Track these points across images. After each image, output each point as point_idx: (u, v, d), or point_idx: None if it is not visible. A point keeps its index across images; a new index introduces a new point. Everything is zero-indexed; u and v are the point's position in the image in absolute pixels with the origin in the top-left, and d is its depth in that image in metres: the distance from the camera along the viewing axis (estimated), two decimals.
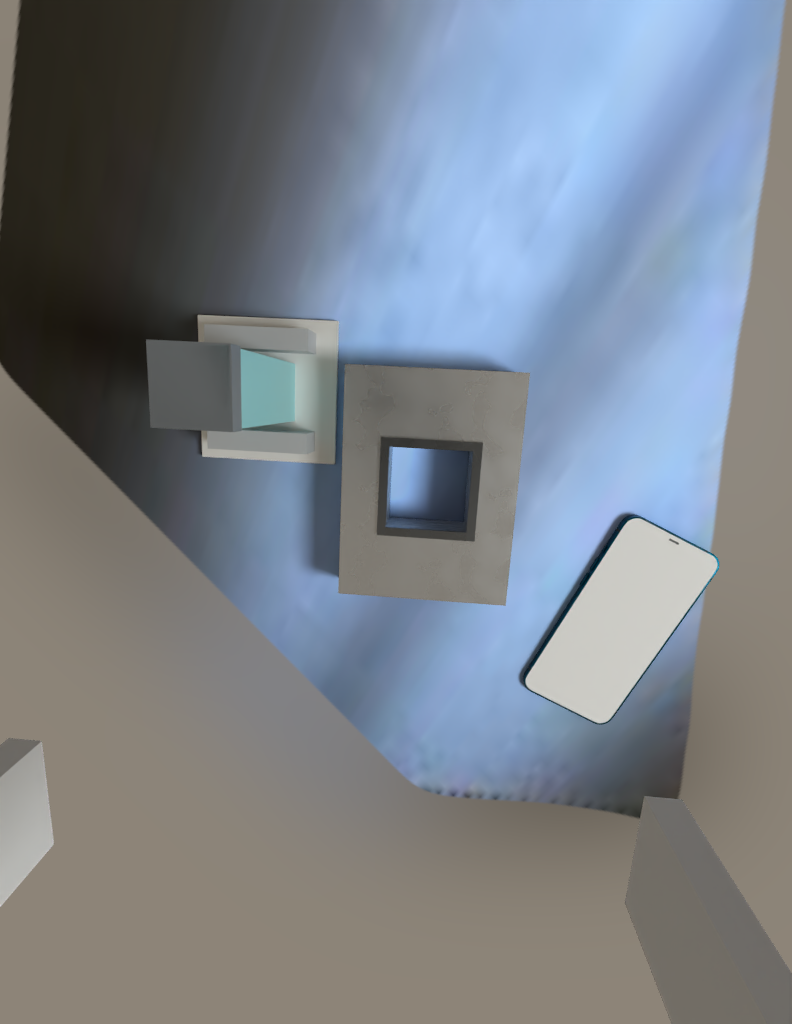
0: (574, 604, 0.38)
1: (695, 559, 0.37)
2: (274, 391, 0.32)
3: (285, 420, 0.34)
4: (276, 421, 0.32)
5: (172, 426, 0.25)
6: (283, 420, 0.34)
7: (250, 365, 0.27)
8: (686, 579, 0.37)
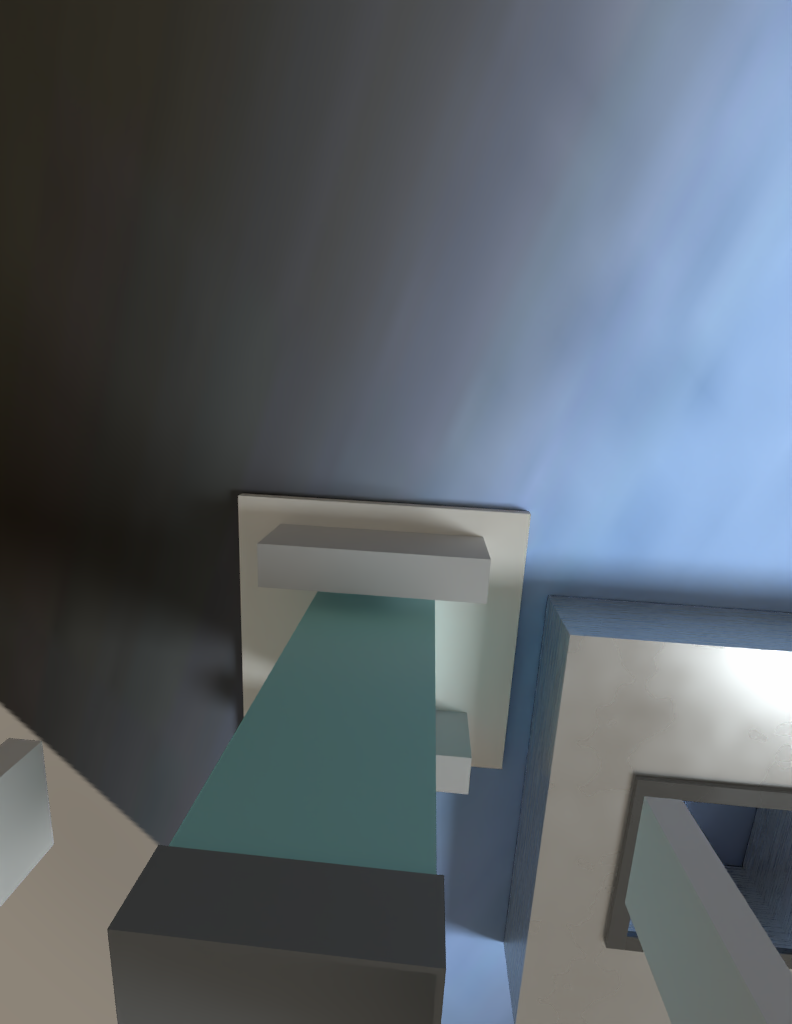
0: None
1: None
2: None
3: None
4: None
5: None
6: None
7: None
8: None
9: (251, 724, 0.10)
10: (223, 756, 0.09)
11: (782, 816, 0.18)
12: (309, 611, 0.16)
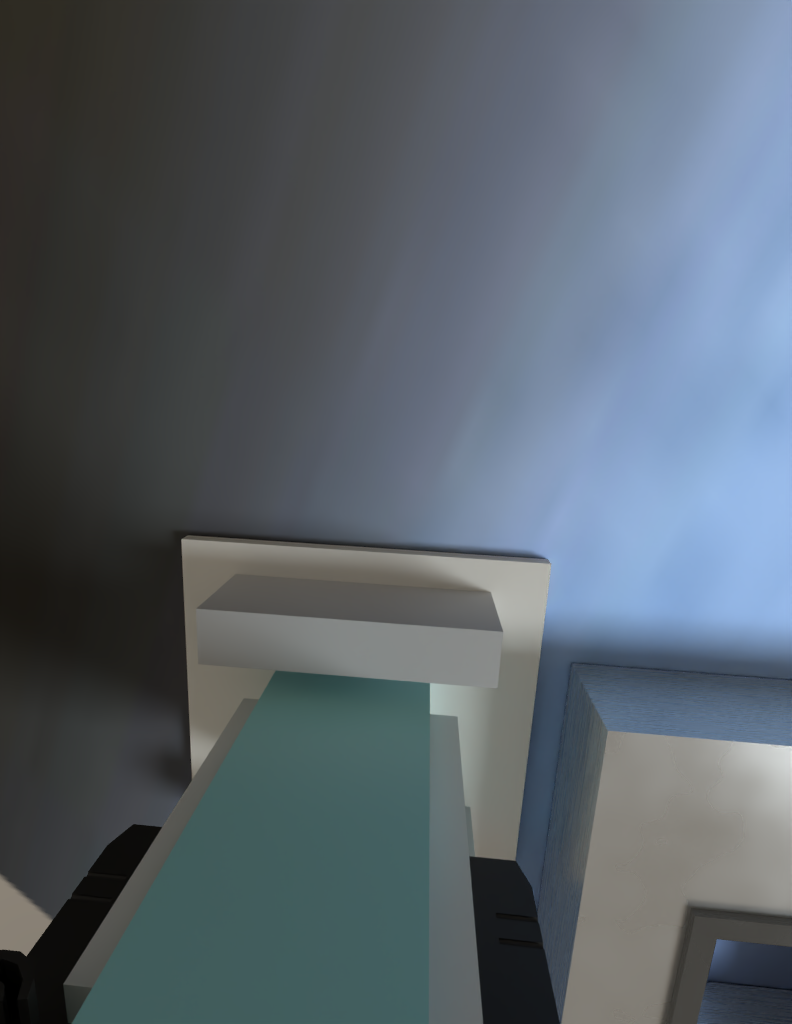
0: None
1: None
2: None
3: None
4: None
5: None
6: None
7: None
8: None
9: (142, 932, 0.07)
10: (80, 1013, 0.06)
11: None
12: (265, 695, 0.12)
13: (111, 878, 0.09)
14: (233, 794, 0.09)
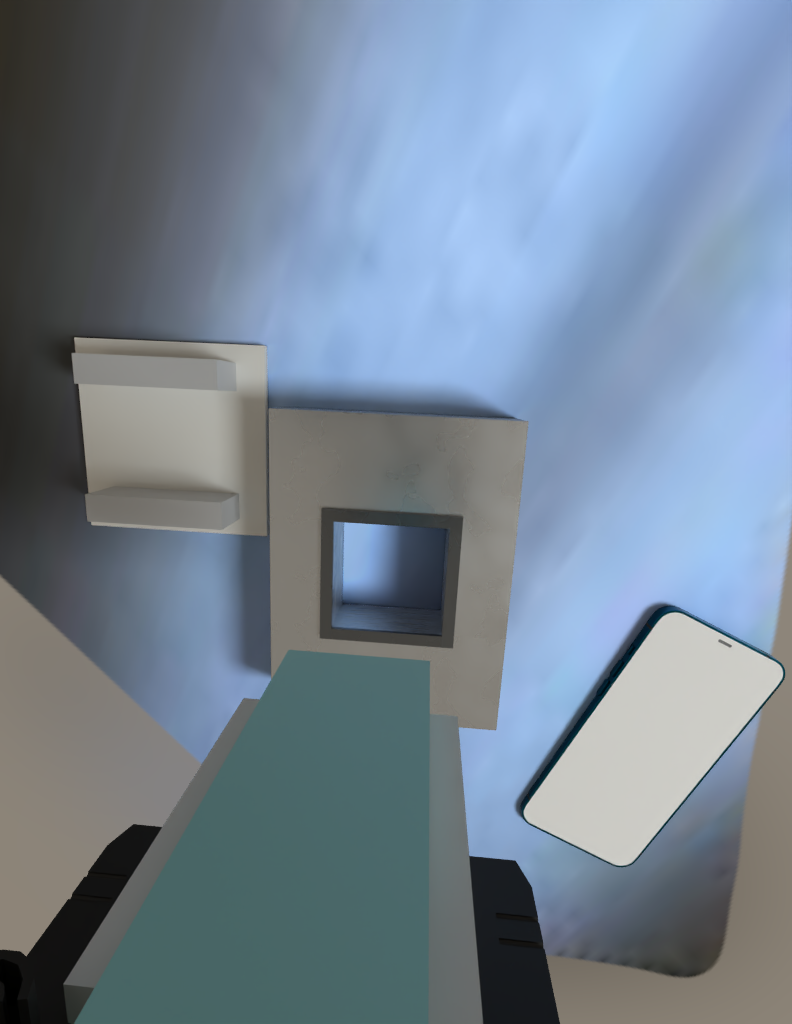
0: (588, 719, 0.29)
1: (752, 667, 0.27)
2: None
3: None
4: None
5: None
6: None
7: None
8: (740, 692, 0.28)
9: (141, 937, 0.07)
10: (80, 1019, 0.06)
11: (445, 556, 0.26)
12: (265, 698, 0.12)
13: (111, 878, 0.09)
14: (233, 798, 0.09)
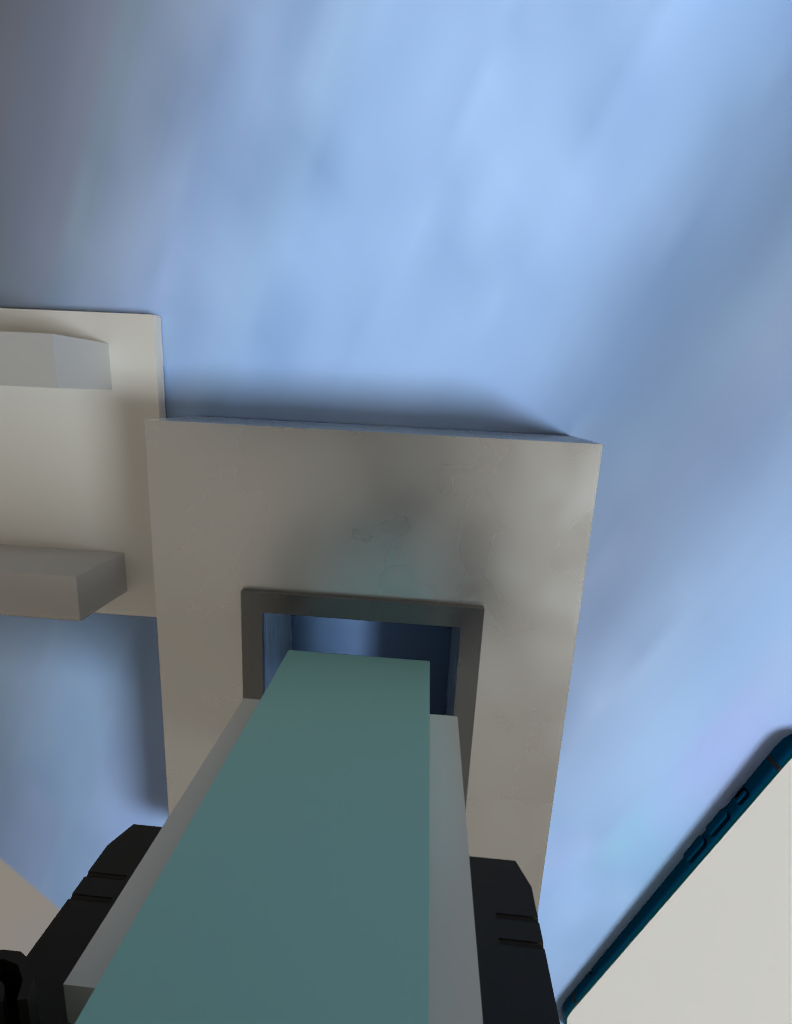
0: (672, 897, 0.19)
1: None
2: None
3: None
4: None
5: None
6: None
7: None
8: None
9: (142, 937, 0.07)
10: (80, 1018, 0.06)
11: (452, 657, 0.16)
12: (265, 698, 0.12)
13: (111, 878, 0.09)
14: (233, 798, 0.09)
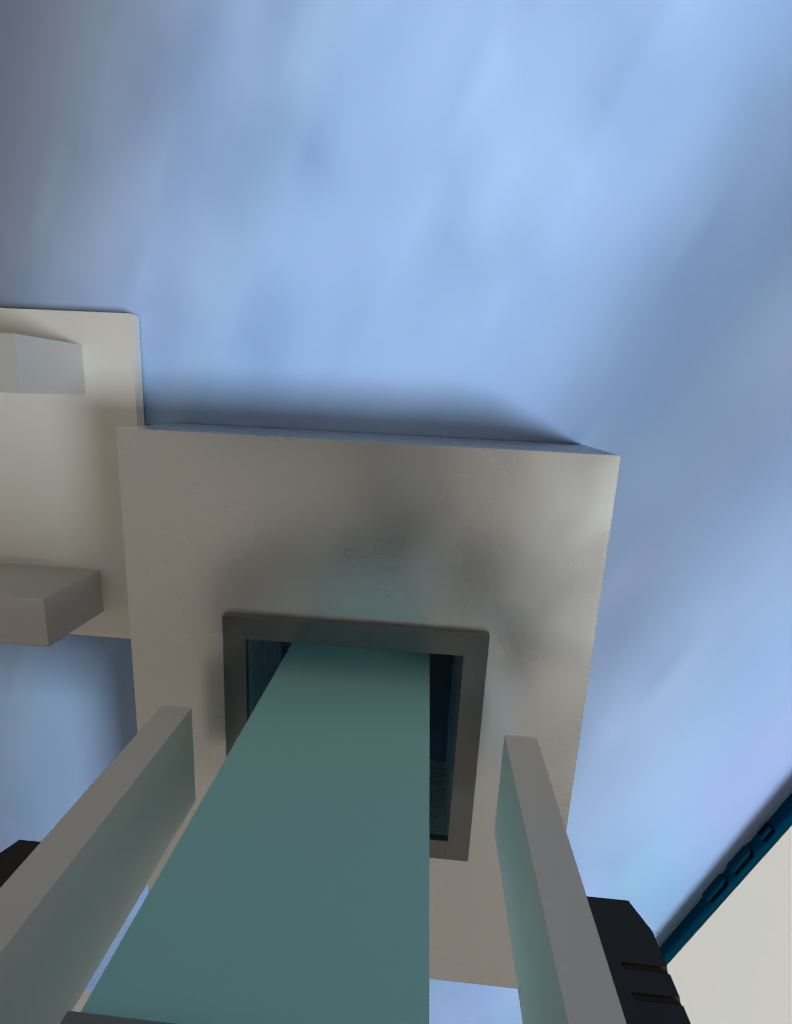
0: (690, 940, 0.17)
1: None
2: None
3: None
4: None
5: None
6: None
7: None
8: None
9: (208, 812, 0.09)
10: (170, 860, 0.08)
11: (453, 684, 0.15)
12: (288, 655, 0.14)
13: None
14: (268, 725, 0.11)
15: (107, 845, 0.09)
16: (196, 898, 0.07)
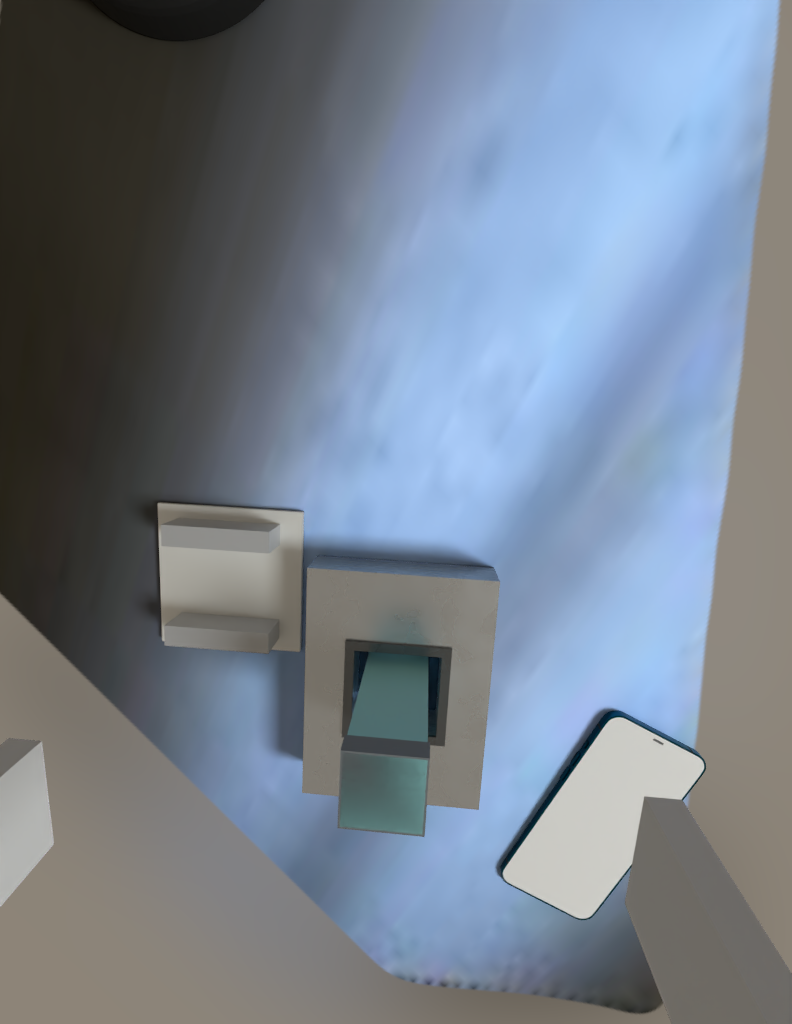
0: (554, 799, 0.36)
1: (680, 760, 0.35)
2: None
3: None
4: None
5: (360, 828, 0.24)
6: None
7: None
8: (671, 779, 0.35)
9: (359, 703, 0.28)
10: None
11: (439, 671, 0.34)
12: (369, 657, 0.33)
13: None
14: (369, 681, 0.30)
15: None
16: (364, 720, 0.26)
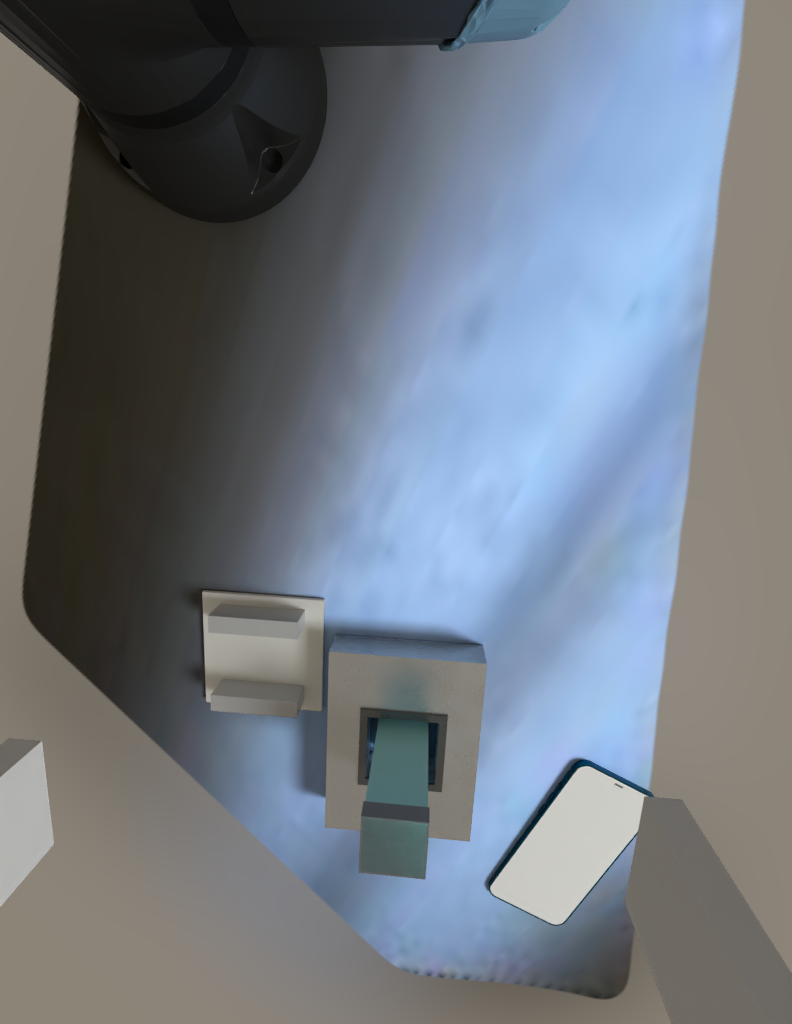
0: (532, 830, 0.44)
1: (637, 800, 0.42)
2: None
3: None
4: None
5: (376, 872, 0.32)
6: None
7: None
8: (629, 815, 0.43)
9: (373, 769, 0.35)
10: None
11: (437, 729, 0.41)
12: (379, 720, 0.40)
13: None
14: (381, 746, 0.37)
15: None
16: (378, 786, 0.33)
